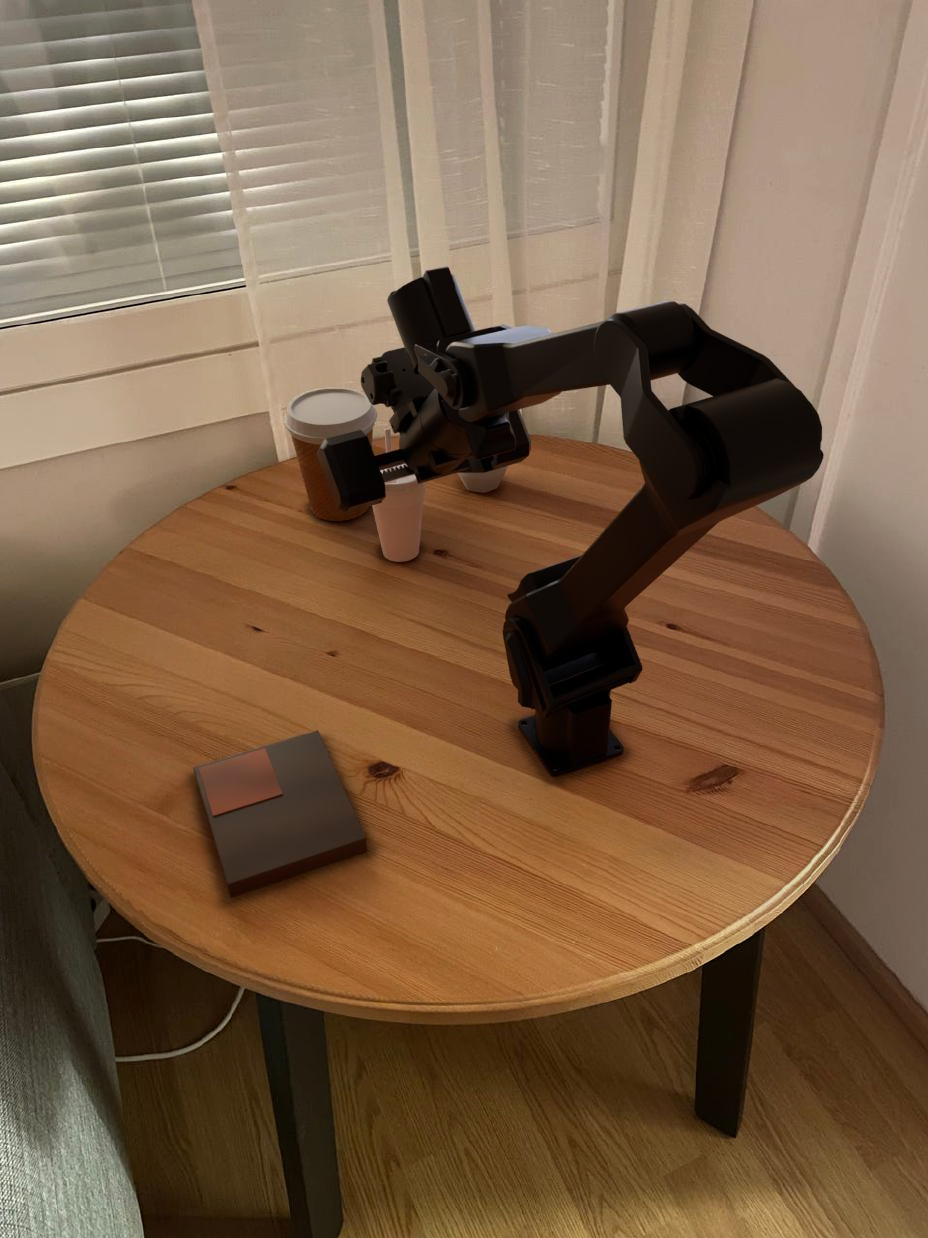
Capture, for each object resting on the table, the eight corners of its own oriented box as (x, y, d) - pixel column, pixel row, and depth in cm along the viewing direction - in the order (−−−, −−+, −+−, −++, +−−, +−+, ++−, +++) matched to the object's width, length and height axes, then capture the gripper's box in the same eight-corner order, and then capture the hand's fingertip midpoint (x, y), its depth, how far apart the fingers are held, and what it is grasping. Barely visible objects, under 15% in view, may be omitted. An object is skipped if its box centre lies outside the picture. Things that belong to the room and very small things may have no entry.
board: (367, 851, 72) (366, 837, 71) (230, 898, 69) (226, 883, 68) (319, 742, 81) (317, 728, 80) (196, 780, 78) (192, 765, 77)
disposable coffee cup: (289, 492, 112) (275, 392, 105) (372, 478, 114) (364, 379, 107) (304, 536, 105) (290, 433, 97) (393, 520, 107) (386, 418, 100)
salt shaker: (509, 471, 115) (510, 364, 107) (505, 497, 110) (507, 387, 102) (458, 469, 115) (455, 362, 107) (452, 495, 111) (450, 386, 103)
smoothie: (360, 543, 104) (349, 420, 95) (417, 528, 106) (411, 406, 97) (383, 575, 99) (373, 449, 90) (442, 559, 101) (438, 434, 93)
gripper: (518, 307, 85) (458, 379, 100) (313, 353, 78) (280, 424, 93) (564, 429, 85) (497, 484, 99) (361, 486, 78) (321, 536, 92)
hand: (401, 479), depth 96 cm, fingers open, 9 cm apart
